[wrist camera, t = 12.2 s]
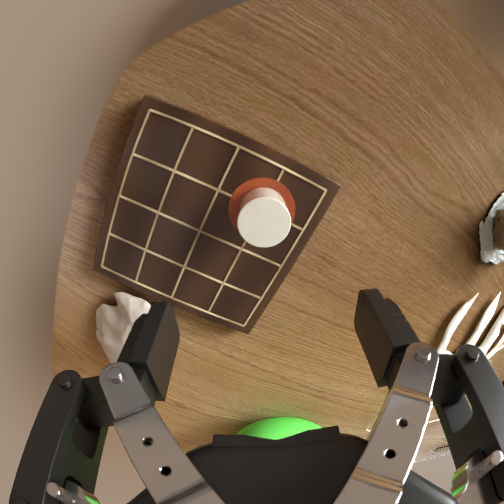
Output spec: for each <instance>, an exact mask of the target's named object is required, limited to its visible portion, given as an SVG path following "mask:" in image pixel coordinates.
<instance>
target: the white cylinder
mask: <svg viewBox="0 0 504 504" xmlns="http://www.w3.org/2000/svg"><path fill="white" fill-rule="evenodd" d="M237 226H238V230H239V233H240V235H241V236H242V238H243V239H244V240H245V241H246V242H248V243H249V244H251V245H253V246H256V247H271V246H274V245H277V244H278V243H280V242H281V241H282V240H284V239H285V237H286V236H287V235H288V233H289V231H290V227H291V217H290V213H289V211H288V208H287V205H286V203H285V200H284V199H283V197H282V196H281V195H280V194H279V193H278V192H276V191H275V190H273V189H270V188H256V189H253V190H251V191H249V192H248V193H247V194H246V195H245V196H244V197H243V198H242V200H241V202H240V205H239V211H238V219H237Z"/></svg>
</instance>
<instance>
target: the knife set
mask: <svg viewBox="0 0 504 504" xmlns="http://www.w3.org/2000/svg"><path fill="white" fill-rule="evenodd" d="M478 293H479V292H478ZM478 293H477V294H476V295H475V296H473V297H472V298H471V299H470V300H469V301H467V302H466V303H465V304H464V305H463V306H462V307H461V308H460V310H459V311H458V312H457V313H456V314H455V316H454V317H453V319H452V320H451V322H450V323H449V325H448V327H447V329H446V331H445V334H444V337H443V340H442V342H441V344H440V345H439V347H438V349H437V352H438V354H452V353H451V352H449V351H446V348H447V345H448V343H449V341H450V339H451V337H452V335H453V333H454V331H455V329H456V328H457V326H458V324H459V323H460V321H461V320H462V318H463V317H464V315H465V314H466V313H467V311H468V309H469V307H470V306H471V305H472V303H473V302H474V300H475V299H476V297H477V295H478ZM500 293H501V291H500ZM500 293H499V294H498V295H497V296H496V298H495V299H494V300H493V302H492V303H491V304H490V305H489V307H488V308H487V309H486V311H485V312H484V314H483V316H482V317H481V319H480V321H479V323H478V325H477V327H476V329H475V331H474V332H473V334H472V336H471V337H470V338H469V340H468V341H467V342H466V344H470V345H475V343H476V342H477V340H478V338H479V336H480V335H481V333H482V331H483V330H484V329H485V327H486V326H487V324H488V323H489V321H490V320H491V318H492V316H493V314H494V312H495V309H496V307H497V304H498V300H499V297H500ZM501 324H504V308H503V310H502V311H501V313H500V314H499V316H498V318H497V319H496V321H495V323H494V324H493V326H492V327H491V329H490V331H489V332H488V334H487V336H486V337H485V339H484V340H483V342H482V343H481V345H480V346H479V347H478V348H479V349H481V350H482V352H483V353H484V355H486V354H487V352H488V350H489V348H490V347H491V345H492V344H493V342H494V341H495V340H496V338H497V337H498V335H499V332H500V326H501ZM503 342H504V334H503V336H502V337H501V339H500V340H499V342H498V343H497V345H496V346H495V348H493V349H492V350H491V351H490V352H489V353H488V354H487V355H486V358H487V359H489V358H491V357H492V356H493V355H494V354H495V353H496V352H497V351H499V350H500V349H502V348H503V347H504V345H502V346H501V347H499V348H498V349H496V348H497V347H498V346H499V345H501V344H502V343H503ZM456 352H457V351H456ZM492 363H493V362H492ZM466 399H467V398H466ZM379 412H380V411H379ZM379 412H378V414H379ZM378 414H377V415H378ZM377 415H376V416H377ZM376 416H375V417H374V419H375V418H376ZM374 419H373V420H374ZM373 420H372V421H373ZM438 420H439V419H438ZM372 421H371V422H370V424H371V423H372ZM434 421H436V420H434ZM430 422H433V421H430ZM427 423H429V422H427ZM370 424H369V426H370ZM369 426H368V427H369ZM368 427H367V429H366V430H368ZM368 431H369V430H368Z"/></svg>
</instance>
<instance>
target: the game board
mask: <svg viewBox="0 0 504 504" xmlns="http://www.w3.org/2000/svg"><path fill="white" fill-rule="evenodd" d="M340 187H341V185H340V184H339V183H337V182H336V181H335V180H333V179H331V178H329V177H327V176H326V175H324V174H322V173H320V172H319V171H317V170H315V169H313V168H311V167H309V166H308V165H306V164H304V163H302V162H300V161H298V160H296V159H294V158H292V157H291V156H289V155H287V154H285V153H283V152H281V151H279V150H277V149H275V148H273V147H271V146H269V145H267V144H265V143H263V142H260V141H258V140H256V139H254V138H252V137H250V136H248V135H246V134H243V133H241V132H239V131H237V130H235V129H232V128H230V127H228V126H226V125H223V124H221V123H219V122H216V121H214V120H212V119H209V118H207V117H204V116H202V115H200V114H197V113H195V112H192V111H190V110H187V109H184V108H182V107H179V106H177V105H174V104H171V103H169V102H166V101H163V100H160V99H158V98H155V97H152V96H146V95H145V96H144V98H143V101H142V103H141V105H140V108H139V110H138V113H137V115H136V118H135V120H134V123H133V125H132V128H131V131H130V133H129V136H128V139H127V142H126V144H125V147H124V150H123V153H122V156H121V159H120V162H119V165H118V168H117V172H116V175H115V178H114V181H113V185H112V188H111V192H110V195H109V199H108V203H107V207H106V210H105V214H104V218H103V223H102V227H101V231H100V236H99V240H98V245H97V250H96V255H95V260H94V266H93V270H95V271H97V272H99V273H101V274H103V275H105V276H107V277H109V278H111V279H114V280H116V281H118V282H120V283H122V284H124V285H126V286H129V287H131V288H133V289H135V290H137V291H140V292H142V293H144V294H146V295H149V296H151V297H153V298H156V299H158V300H160V301H163V302H171V304H172V306H175V307H177V308H179V309H182V310H184V311H187V312H189V313H192V314H194V315H197V316H199V317H202V318H205V319H207V320H210V321H212V322H215V323H218V324H220V325H223V326H226V327H228V328H231V329H234V330H237V331H239V332H242V333H245V334H249V333H250V331H251V330H252V328H253V327H254V325H255V324H256V322H257V321H258V319H259V318H260V316H261V315H262V313H263V312H264V310H265V308H266V307H267V305H268V304H269V302H270V301H271V299H272V298H273V296H274V295H275V293H276V292H277V290H278V288H279V287H280V285H281V284H282V282H283V281H284V279H285V277H286V276H287V274H288V273H289V271H290V270H291V268H292V266H293V265H294V263H295V262H296V260H297V258H298V257H299V255H300V254H301V252H302V250H303V249H304V247H305V245H306V244H307V242H308V241H309V239H310V237H311V236H312V234H313V232H314V231H315V229H316V227H317V226H318V224H319V222H320V221H321V219H322V217H323V216H324V214H325V212H326V211H327V209H328V207H329V206H330V204H331V202H332V201H333V199H334V197H335V195H336V194H337V192H338V190H339V189H340ZM256 188H270V189H273V190H275V191H276V192H278V193H279V194H280V195H281V196H282V197H283V199H284V200H285V203H286V205H287V208H288V211H289V213H290V217H291V227H290V231H289V233H288V235H287V236H286V237H285V239H284V240H282V241H281V242H280V243H278V244H277V245H274V246H271V247H256V246H253V245H251V244H249V243H248V242H246V241H245V240H244V239H243V238H242V236H241V235H240V233H239V230H238V226H237V219H238V211H239V205H240V202H241V200H242V198H243V197H244V196H245V195H246V194H247V193H248V192H249V191H251V190H253V189H256Z"/></svg>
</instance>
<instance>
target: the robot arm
mask: <svg viewBox="0 0 504 504" xmlns="http://www.w3.org/2000/svg"><path fill="white" fill-rule="evenodd" d="M354 326H355V331H356V333H357V336H358V338H359V341H360V343H361V345H362V348H363V350H364V353H365V355H366V358H367V360H368V363H369V365H370V368H371V370H372V373H373V375H374V378H375V380H376V383H377V386H378V388H379V387H383V386H388V388H389V392H388V394H387V396H386V399H385V401H384V403H383V406H382V408H381V410H380V412H379V415H378V417H377V419H376V421H375V423H374V425H373V427H372V429H371V431H370V433H369V435H368V437H367V439H366V440H365V439H363V438H360V437H357V436H354V435H349V434H342V433H340V432H339V427H338V426H333V427H326V428H319V429H312V430H307V431H304V432H301V433H298V434H295V435H292V436H289V437H285V438H282V439H278V440H273V439H266V438H260V437H254V436H249V435H213V442H212V443H208V444H204V445H201V446H199V447H196V448H194V449H192V450H191V451H189V452H187V453H186V454H185V453H184V451H183V450H182V448H181V447H180V446H179V444H178V443H177V441H176V440H175V438H174V437H173V435H172V434H171V432H170V431H169V429H168V428H167V426H166V425H165V423H164V422H163V420H162V418H161V417H160V415H159V414H158V412H157V410H156V409H155V407H154V405H155V401H165V398H166V393H167V389H168V385H169V381H170V376H171V372H172V368H173V364H174V360H175V356H176V352H177V348H178V344H179V329H178V325H177V321H176V318H175V314H174V310H173V307H172V304H171V302H153V303H152V305H151V307H150V309H149V312H148V314H142V315H141V316H140V317H138V318H137V319H136V320H135V322H134V324H133V326H132V328H131V331H130V333H129V335H128V338H127V339H126V341H125V344H124V346H123V348H122V350H121V353H120V355H119V357H118V360H117V362H116V363H112V364H110V365H108V366H106V367H105V368H104V369H103V370H102V372H101V373H100V376H96V377H89V378H83V379H82V378H81V377H80V375H79V374H78V372H76V371H74V370H65V371H62V372H60V373H59V374H57V375H56V376H55V378H54V379H53V381H52V383H51V385H50V387H49V389H48V392H47V394H46V396H45V398H44V400H43V403H42V405H41V407H40V410H39V412H38V415H37V417H36V420H35V422H34V425H33V427H32V430H31V432H30V435H29V438H28V440H27V443H26V446H25V449H24V452H23V455H22V458H21V461H20V464H19V467H18V470H17V473H16V477H15V480H14V484H13V487H12V491H11V495H10V500H9V504H100V502H99V500H98V499H97V498H96V497H95V496H94V490H95V485H96V480H97V474H98V469H99V465H100V460H101V455H102V452H103V447H104V443H105V439H106V435H107V431H108V427H109V426H115V429H116V431H117V433H118V435H119V437H120V439H121V441H122V443H123V446H124V448H125V450H126V452H127V453H128V455H129V458H130V459H131V461H132V463H133V465H134V467H135V469H136V471H137V472H138V474H139V475H140V478H141V479H142V481H143V483H144V485H145V486H146V489H145V490H143V491H142V492H141V493H140V494H138V495H137V496H136V497H135V498H134V499H132V500H131V501H130V502H129V503H127V504H504V387H503V385H502V383H501V381H500V380H499V378H498V376H497V374H496V373H495V371H494V369H493V368H492V366H491V364H490V363H489V361H488V359H487V358H486V356H485V355H484V353H483V352H482V350H481V349H479V348H478V347H476V346H474V345H470V344H465V345H462V346H460V347H459V348H458V350H457V352H456V354H438V352H437V350H436V349H435V348H434V347H433V346H431V345H429V344H427V343H423V342H420V340H419V339H418V337H417V335H416V334H415V332H414V330H413V329H412V327H411V326H410V324H409V322H408V321H406V318H405V316H404V315H403V314H402V311H401V310H400V308H399V307H398V305H397V304H395V303H394V302H393V301H391V300H390V299H389V298H387V299H384V298H383V296H382V295H381V293H380V291H379V290H378V289H377V288H374V289H365V290H360V291H359V295H358V301H357V306H356V312H355V318H354ZM465 394H466V395H467V398H468V400H469V402H470V404H471V406H472V410H471V407H470V405H469V403H468V401H467V399H466V397H465ZM432 405H434V407H435V409H436V412H437V414H438V417H439V420H440V422H441V425H442V428H443V431H444V433H445V436H446V439H447V442H448V445H449V448H450V451H451V454H452V457H453V460H454V464H455V467H456V472H455V473H454V475H453V478H452V485H451V492H452V494H450V493H448V492H446V491H444V490H443V489H441V488H439V487H437V486H436V485H434V484H433V483H431V482H429V481H428V480H426V479H425V478H423V477H421V476H420V475H418V474H417V473H415V472H413V471H412V470H410V469H411V466H412V464H413V462H414V459H415V456H416V454H417V451H418V448H419V445H420V443H421V440H422V437H423V434H424V431H425V428H426V424H427V421H428V418H429V414H430V411H431V407H432Z"/></svg>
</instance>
